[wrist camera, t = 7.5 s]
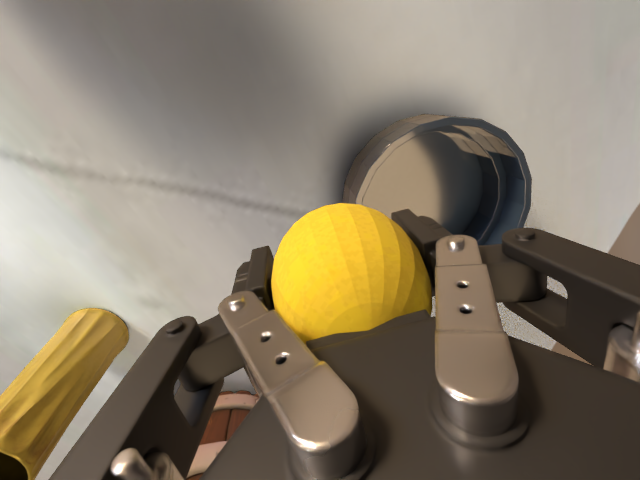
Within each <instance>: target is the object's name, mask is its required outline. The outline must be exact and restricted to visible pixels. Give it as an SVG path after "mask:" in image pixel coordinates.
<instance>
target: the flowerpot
mask: <svg viewBox="0 0 640 480" xmlns="http://www.w3.org/2000/svg"><path fill="white" fill-rule="evenodd" d="M258 400H259V397H258V395H257V394H255V395H251V394H250V392H249V391H238V392H237V393H236V394H234V393H233V392H231V391H226V392H222V393H220V394H219V396H218V399H217V401H216V404H215V406H214V409H213V411H212V414H211V417H210V419H209V422H208V424H207V427H206V429H205V432H204V434H203V437H202V439H201V442H200V444H199V447H198V450H197V452H196V455H195V457H194V460H193V462H192V465H191V467H190V470H189V472H188V475H187V477H186V480H199V479H200V478H201V476H202V475H203V474H204V472H205V471H206V470H207V468H208V467H209V465H210V464H211V463H212V461H213V460H214V459H215V457H216V456H217V455H218V453H219V452H220V451H221V449H222V448H223V447H224V445H225V444H226V443H227V441H228V440H229V439H230V437H231V436H232V435H233V433H234V432H235V431H236V429H237V428H238V427H239V425H240V424H241V422H242V421H243V420H244V418H245V417H246V416H247V414H248V413H249V412H250V410H251V409H252V408H253V406H254V405H255V404H256V402H257V401H258Z"/></svg>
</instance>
